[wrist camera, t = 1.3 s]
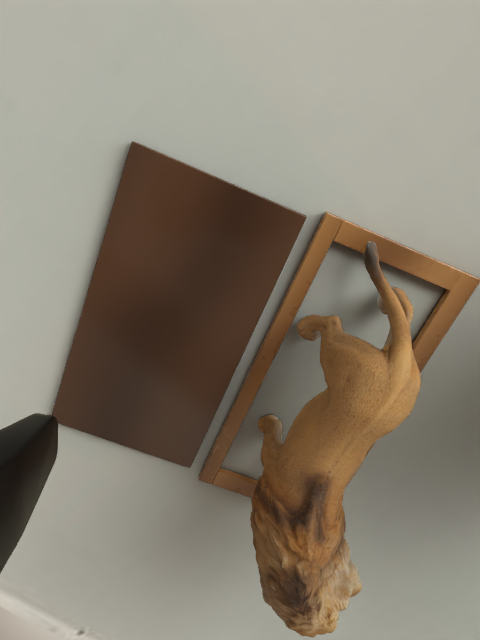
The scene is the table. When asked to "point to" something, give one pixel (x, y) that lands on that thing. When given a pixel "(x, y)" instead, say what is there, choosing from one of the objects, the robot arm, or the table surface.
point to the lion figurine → (328, 462)
